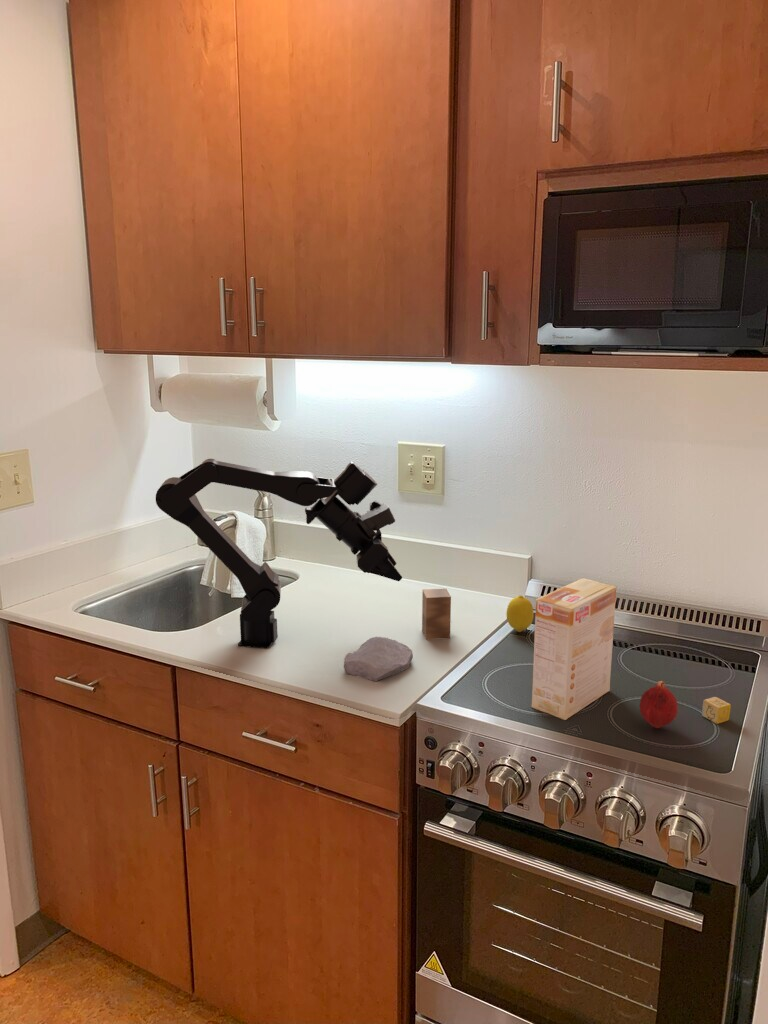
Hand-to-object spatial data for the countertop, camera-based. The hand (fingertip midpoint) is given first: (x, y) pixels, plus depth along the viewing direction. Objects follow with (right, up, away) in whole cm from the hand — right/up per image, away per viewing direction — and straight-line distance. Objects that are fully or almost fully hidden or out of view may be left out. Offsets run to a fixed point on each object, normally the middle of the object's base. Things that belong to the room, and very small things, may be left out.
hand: (397, 572), depth 164 cm
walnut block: (+8, -13, +4) cm, 16 cm away
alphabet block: (+52, -22, -30) cm, 64 cm away
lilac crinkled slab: (-3, -17, -11) cm, 21 cm away
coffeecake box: (+29, -20, -24) cm, 43 cm away
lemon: (+25, -13, +5) cm, 29 cm away
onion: (+41, -23, -33) cm, 58 cm away
